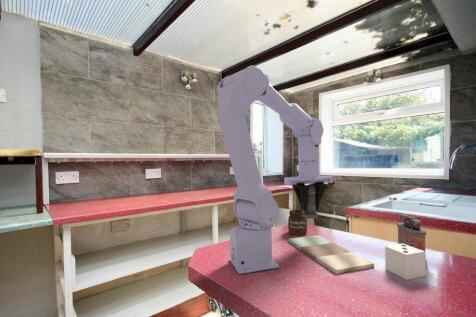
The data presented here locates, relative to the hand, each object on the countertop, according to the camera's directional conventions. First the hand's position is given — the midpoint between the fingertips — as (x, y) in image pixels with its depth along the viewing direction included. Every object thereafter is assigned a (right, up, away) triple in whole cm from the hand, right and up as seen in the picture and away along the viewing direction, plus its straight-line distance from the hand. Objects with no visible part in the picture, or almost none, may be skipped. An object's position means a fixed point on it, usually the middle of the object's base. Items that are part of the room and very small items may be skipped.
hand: (309, 209), depth 70 cm
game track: (+2, -10, -7) cm, 12 cm away
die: (+15, -10, -18) cm, 25 cm away
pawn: (0, -2, 0) cm, 2 cm away
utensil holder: (-1, -10, +10) cm, 14 cm away
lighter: (+21, -10, -11) cm, 26 cm away
